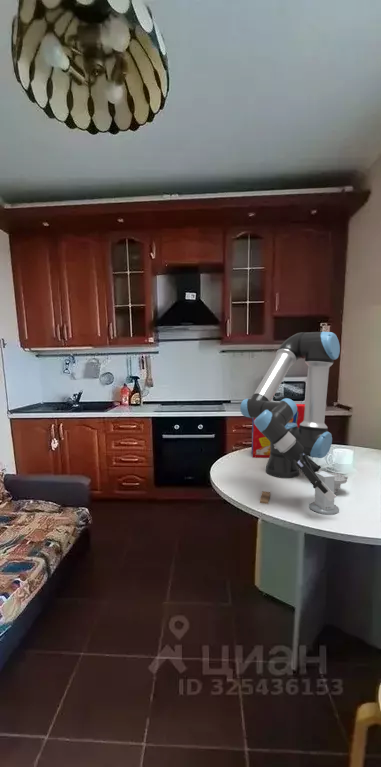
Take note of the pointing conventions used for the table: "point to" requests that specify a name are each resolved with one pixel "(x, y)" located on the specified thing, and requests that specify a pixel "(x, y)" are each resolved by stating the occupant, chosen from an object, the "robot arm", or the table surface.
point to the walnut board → (265, 497)
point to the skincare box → (319, 497)
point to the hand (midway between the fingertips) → (331, 491)
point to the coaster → (320, 510)
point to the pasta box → (262, 443)
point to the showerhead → (338, 480)
